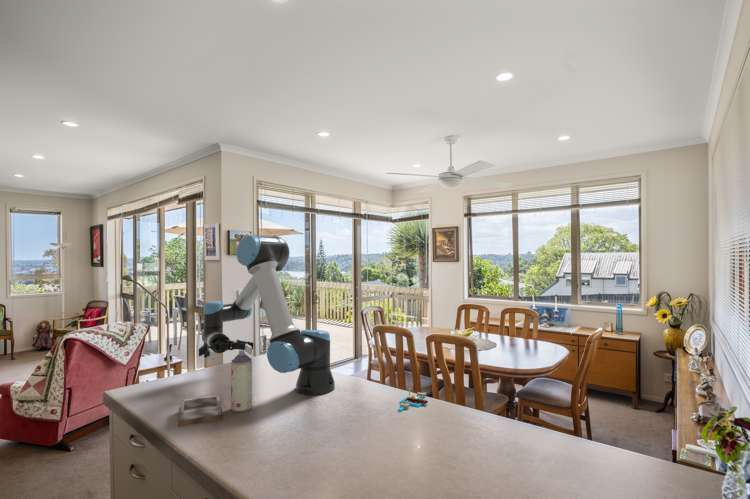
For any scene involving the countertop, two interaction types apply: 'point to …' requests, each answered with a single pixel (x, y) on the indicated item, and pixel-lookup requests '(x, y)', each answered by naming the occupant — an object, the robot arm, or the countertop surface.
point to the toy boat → (412, 399)
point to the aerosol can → (241, 383)
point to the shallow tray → (200, 410)
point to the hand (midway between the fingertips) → (232, 353)
